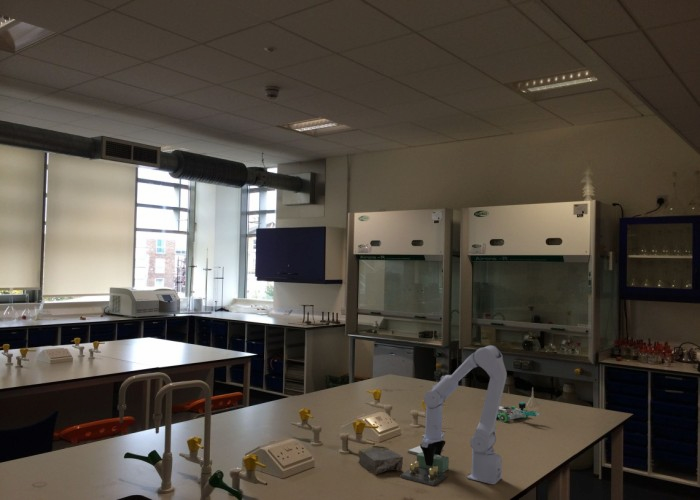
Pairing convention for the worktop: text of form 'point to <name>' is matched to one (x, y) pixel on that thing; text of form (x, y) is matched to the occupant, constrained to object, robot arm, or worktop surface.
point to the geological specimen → (379, 459)
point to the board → (434, 462)
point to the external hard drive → (416, 450)
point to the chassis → (423, 474)
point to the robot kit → (514, 412)
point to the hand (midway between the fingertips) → (432, 463)
